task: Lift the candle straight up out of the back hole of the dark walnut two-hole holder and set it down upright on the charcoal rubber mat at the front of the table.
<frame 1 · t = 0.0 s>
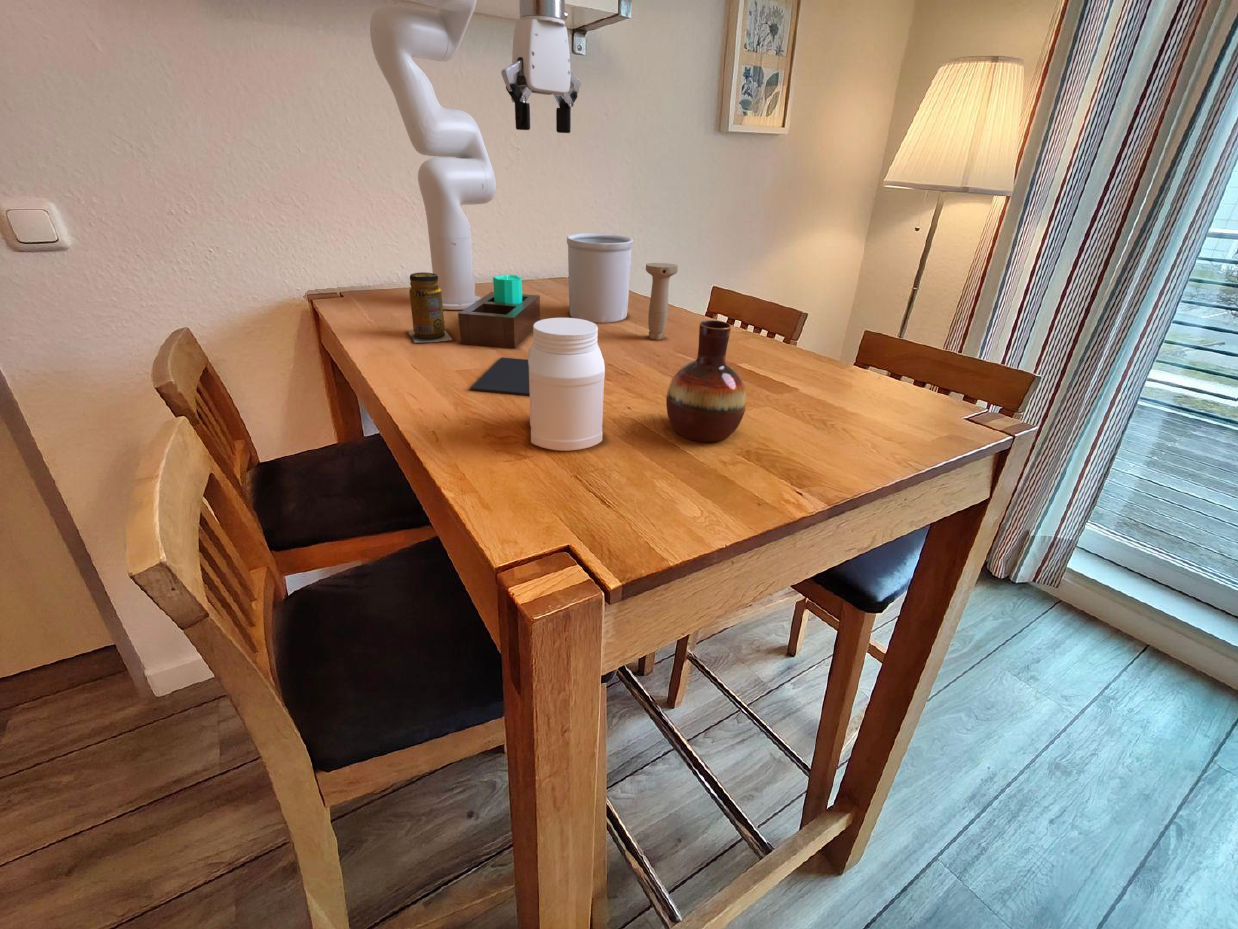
hand: (543, 131, 106), 37 cm above the table, tool pointing down, fingers open, 9 cm apart
holder: (503, 332, 123), on the table
jar: (565, 433, 82), on the table
mat: (538, 378, 100), on the table
vase: (701, 431, 84), on the table
condiment: (430, 337, 118), on the table
utensil holder: (598, 316, 139), on the table
candle: (509, 327, 127), resting in holder
handle: (656, 339, 125), on the table
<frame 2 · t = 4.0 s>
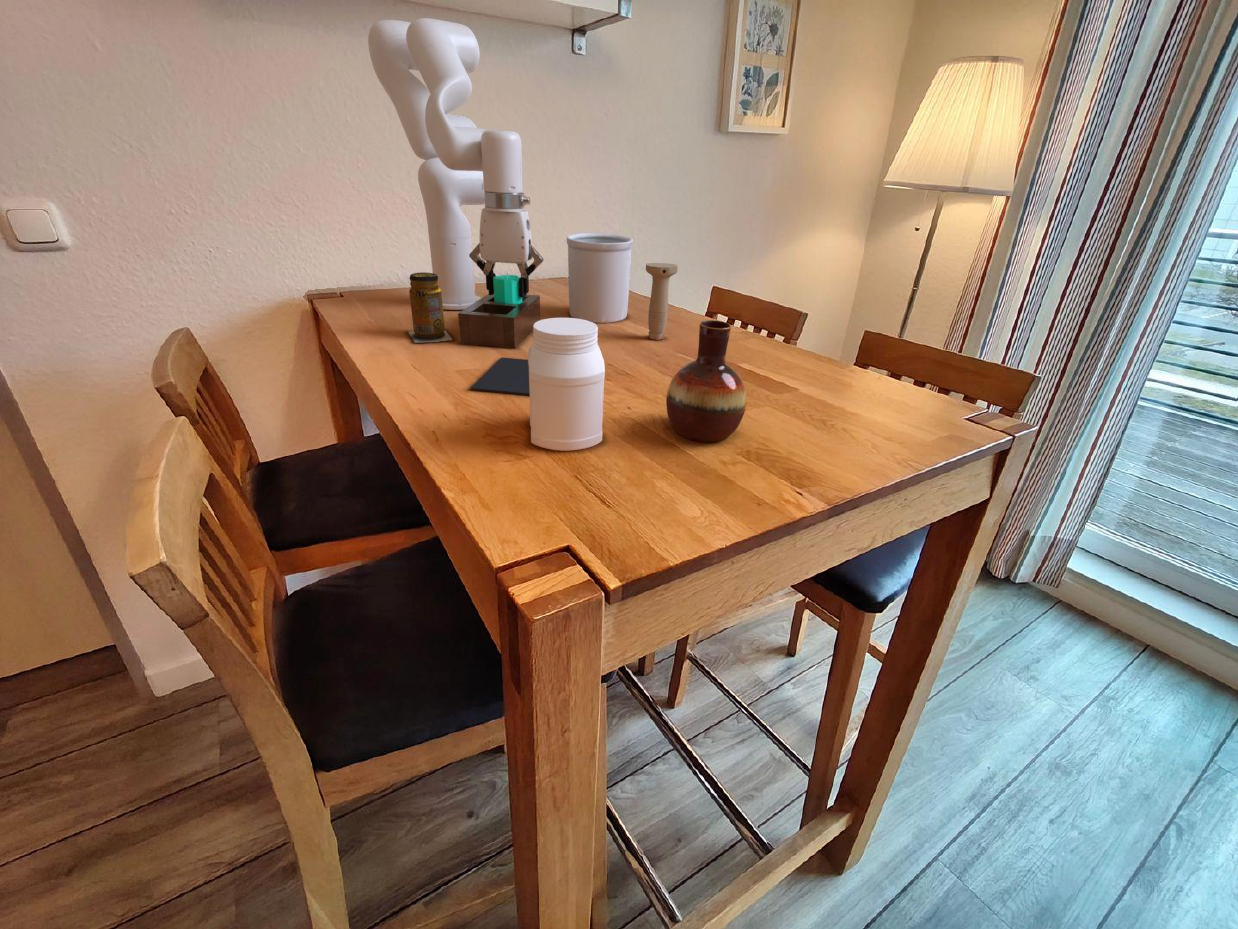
hand: (507, 294, 124), 7 cm above the table, tool pointing down, fingers closed on candle, 6 cm apart
candle: (509, 327, 127), resting in holder, touching gripper
everything else where it was.
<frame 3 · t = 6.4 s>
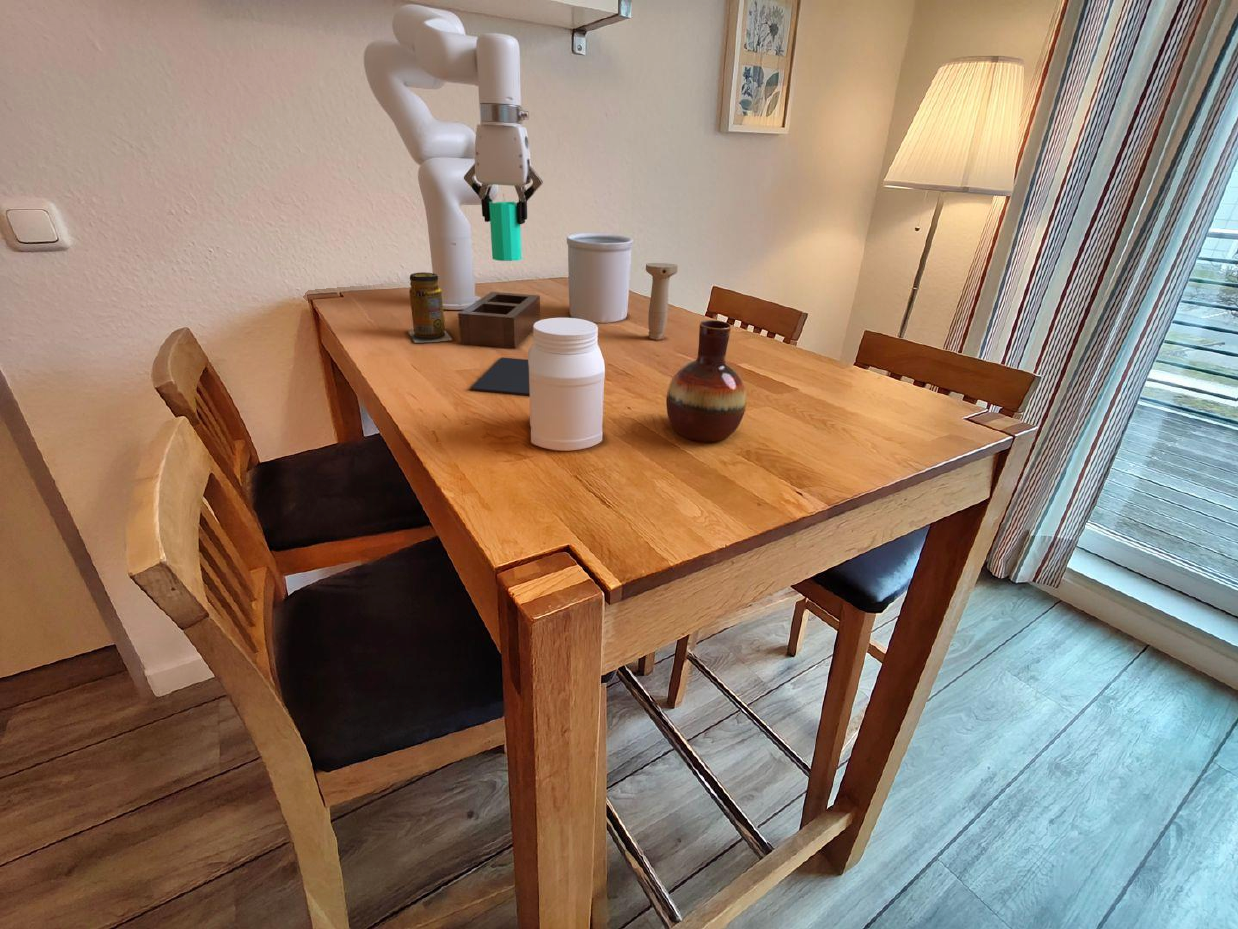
hand: (505, 221, 116), 21 cm above the table, tool pointing down, fingers closed on candle, 6 cm apart
candle: (507, 259, 119), point 14 cm above the table, touching gripper
everything else where it was.
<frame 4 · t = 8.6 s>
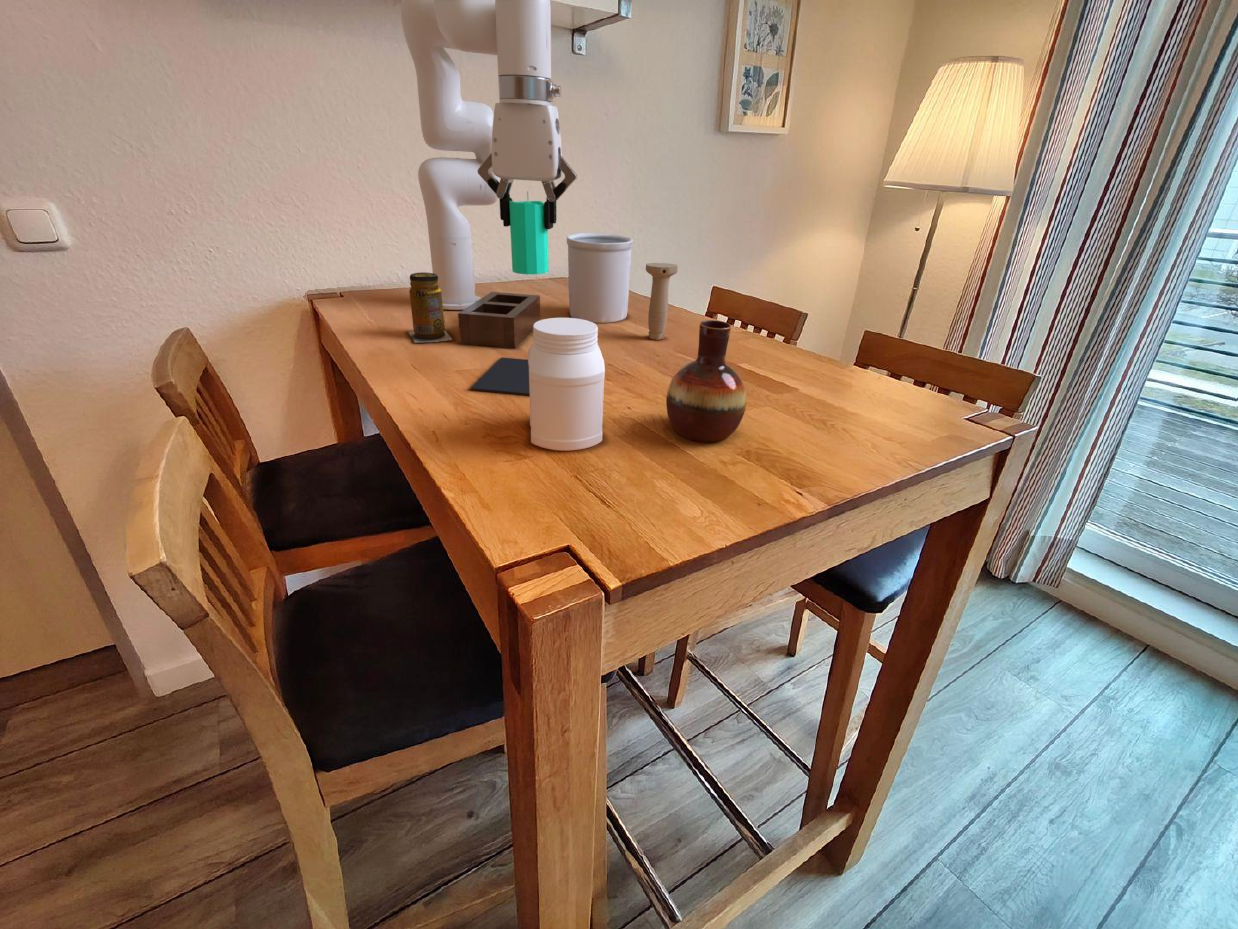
hand: (528, 225, 93), 24 cm above the table, tool pointing down, fingers closed on candle, 6 cm apart
candle: (530, 272, 96), point 17 cm above the table, touching gripper
everything else where it was.
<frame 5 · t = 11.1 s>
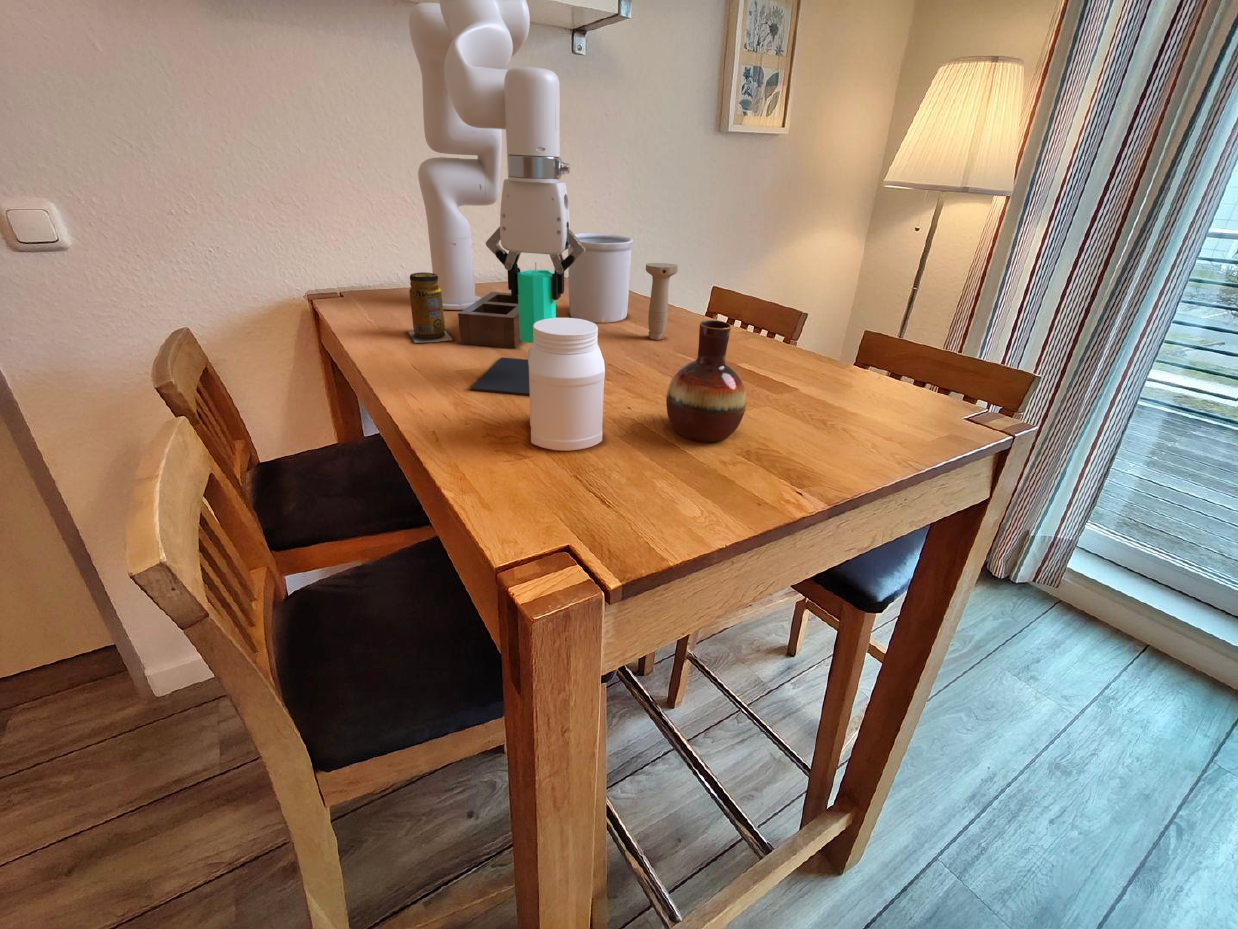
hand: (536, 295, 93), 14 cm above the table, tool pointing down, fingers closed on candle, 6 cm apart
candle: (538, 339, 97), point 7 cm above the table, touching gripper
everything else where it was.
when the fingers open (7 cm above the table, at t = 13.1 s): candle stays where it is, resting on mat.
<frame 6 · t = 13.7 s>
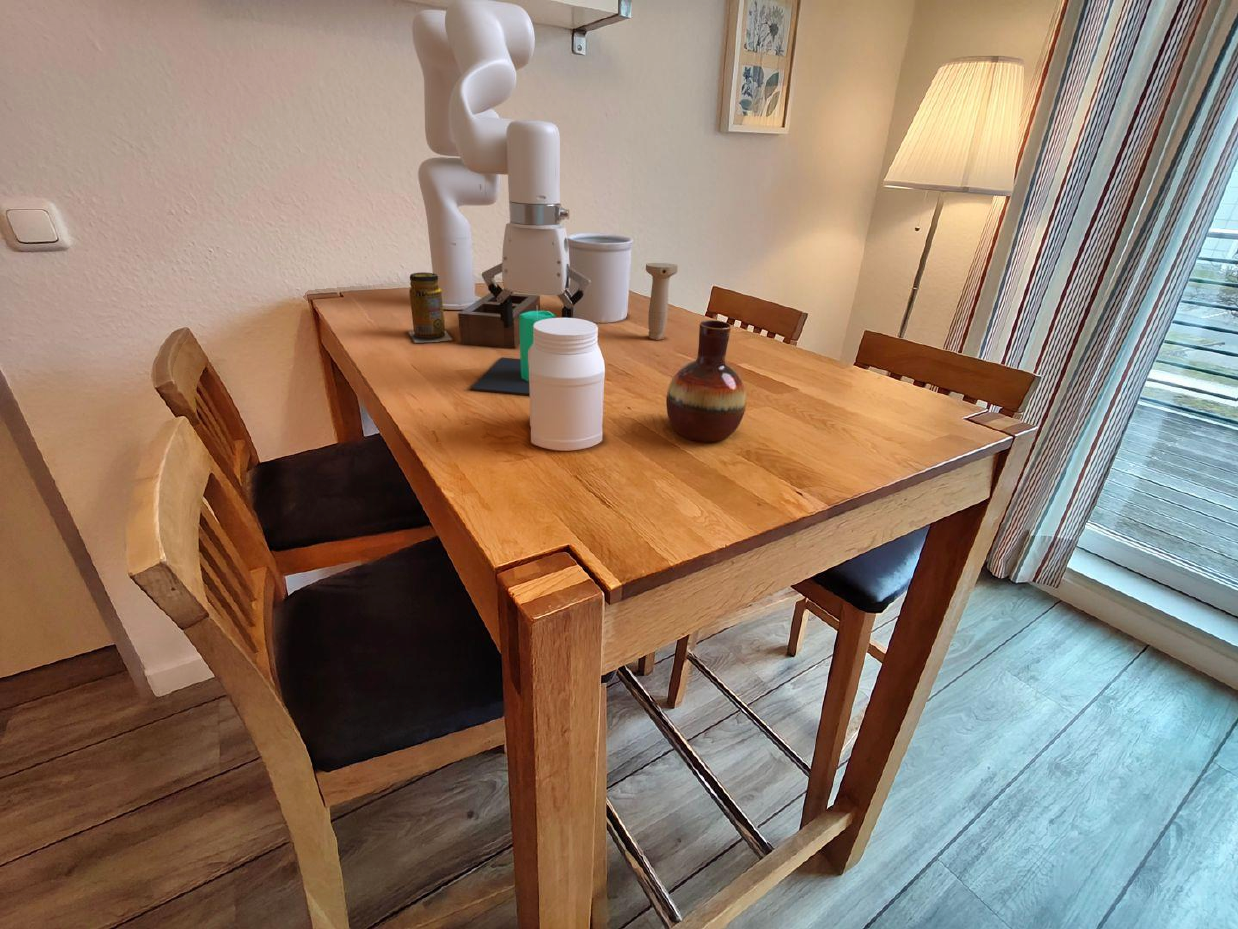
hand: (537, 328, 96), 9 cm above the table, tool pointing down, fingers open, 9 cm apart
candle: (538, 377, 100), resting on mat
everything else where it was.
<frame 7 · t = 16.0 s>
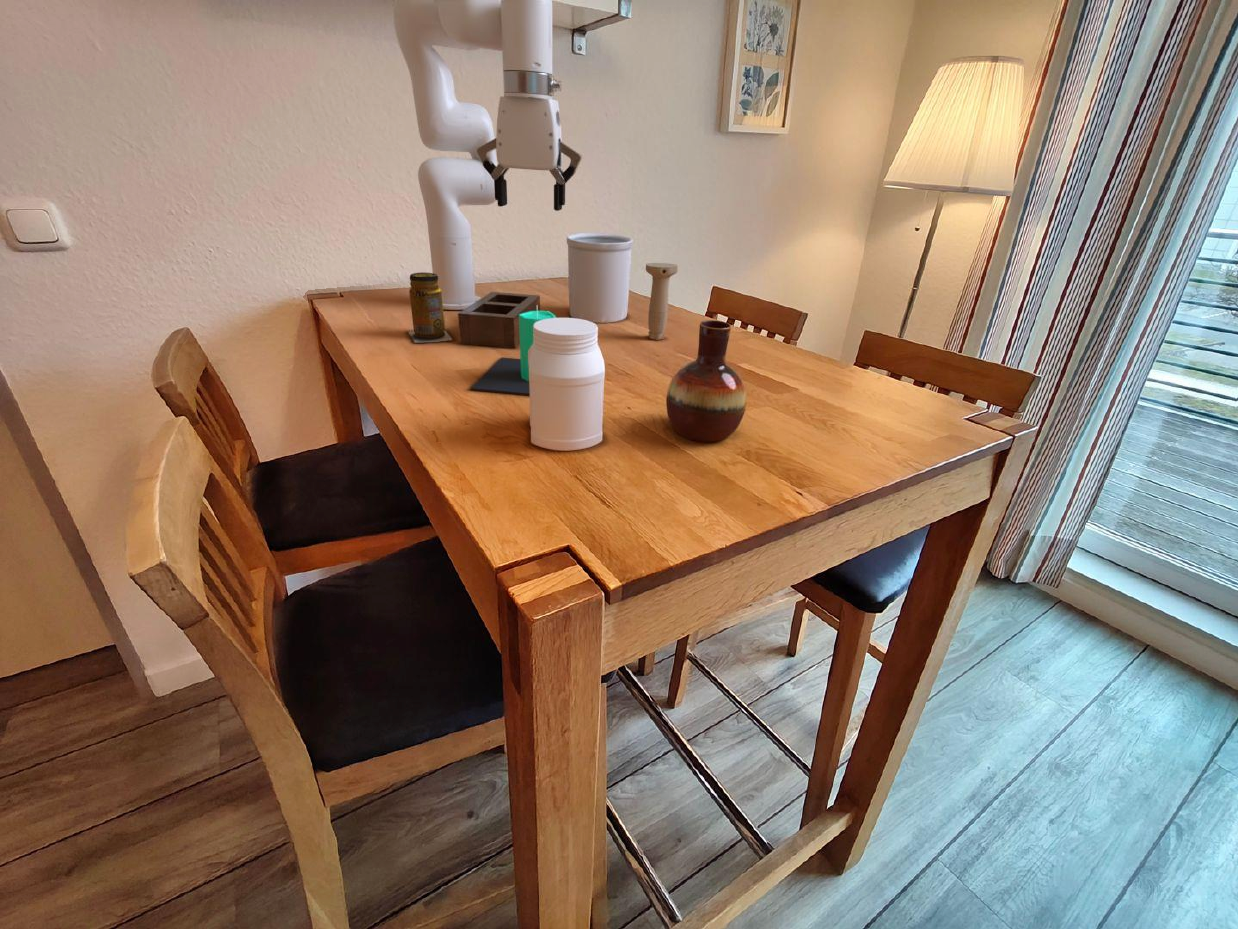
hand: (530, 207, 99), 26 cm above the table, tool pointing down, fingers open, 9 cm apart
nothing on the table moved.
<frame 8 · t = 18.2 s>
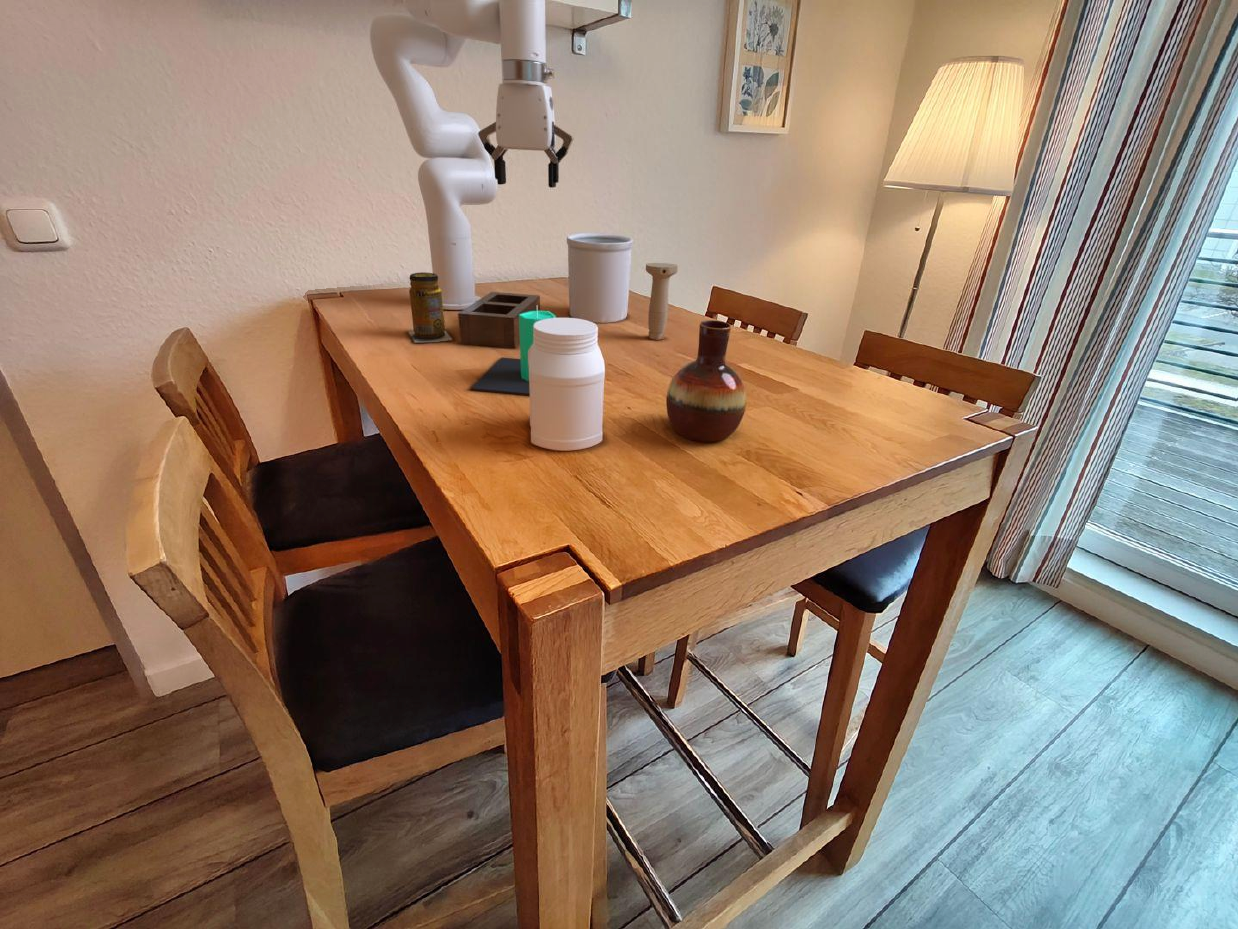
hand: (527, 185, 109), 28 cm above the table, tool pointing down, fingers open, 9 cm apart
nothing on the table moved.
at the end: candle inside the target area on the mat (0.1 cm from its centre), point 0.2 cm above the mat's base; candle tilted 0°; the gripper is holding nothing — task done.
